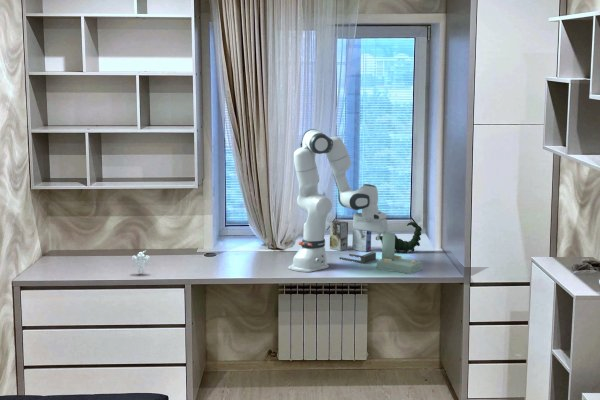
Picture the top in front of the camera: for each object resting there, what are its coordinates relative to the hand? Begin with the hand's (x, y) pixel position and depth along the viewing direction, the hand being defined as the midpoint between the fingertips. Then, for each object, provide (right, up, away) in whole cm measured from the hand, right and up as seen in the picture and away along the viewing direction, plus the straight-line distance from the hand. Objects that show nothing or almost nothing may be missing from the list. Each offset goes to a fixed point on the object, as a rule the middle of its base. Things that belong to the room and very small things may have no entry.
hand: (370, 239), depth 417 cm
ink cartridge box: (-2, -8, +28) cm, 30 cm away
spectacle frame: (-6, -12, +6) cm, 14 cm away
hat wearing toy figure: (-119, -16, -26) cm, 123 cm away
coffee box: (-16, -8, +31) cm, 35 cm away
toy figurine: (+18, -9, +24) cm, 32 cm away
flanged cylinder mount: (+14, -15, -13) cm, 24 cm away
